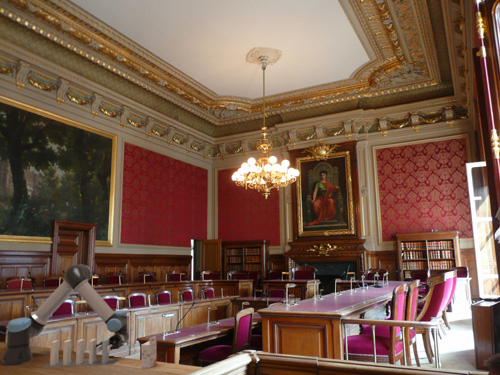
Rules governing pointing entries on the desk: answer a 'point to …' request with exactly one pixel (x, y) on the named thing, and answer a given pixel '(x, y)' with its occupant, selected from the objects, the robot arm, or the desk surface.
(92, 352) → the domino
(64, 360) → the domino
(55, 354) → the domino
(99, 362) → the runway mat
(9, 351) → the robot arm
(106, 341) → the slate domino
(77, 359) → the domino
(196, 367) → the desk surface
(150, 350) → the ink cartridge box
